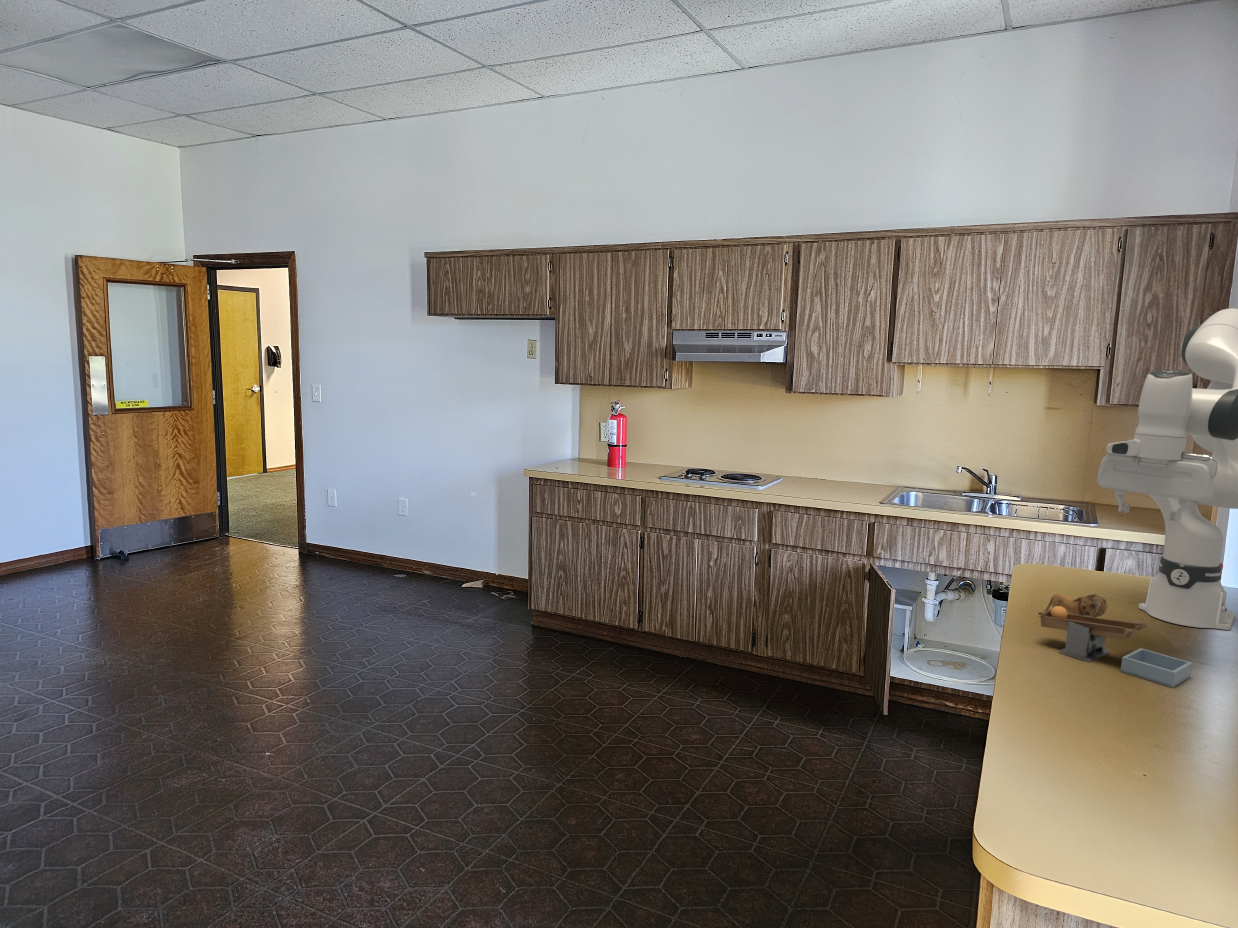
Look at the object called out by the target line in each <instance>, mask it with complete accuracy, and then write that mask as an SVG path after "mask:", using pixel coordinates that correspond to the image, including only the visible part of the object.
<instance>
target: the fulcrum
mask: <svg viewBox="0 0 1238 928" xmlns="http://www.w3.org/2000/svg"><path fill="white" fill-rule="evenodd" d="M1087 616H1088V615H1087ZM1090 617H1092V616H1090ZM1105 642H1106V637H1105V636H1099V635H1092V634H1091V627H1088V626H1084V625H1080V624H1077V623H1073V622H1069V623H1068V630H1067V633H1066V639H1065V647H1064V648H1061V649H1059V650H1058V654H1062V655H1065V656H1068V657H1071V658H1074V659H1077V658H1078V660H1081V661H1084V662H1088V663H1091V662H1093V661H1096V660H1097V659H1100V658H1102V657H1104V656H1106V655H1109V654H1110V650H1109V649H1106V648H1105V645H1106V643H1105Z"/></svg>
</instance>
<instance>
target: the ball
mask: <svg viewBox="0 0 1238 928" xmlns="http://www.w3.org/2000/svg"><path fill="white" fill-rule="evenodd" d="M1051 608H1052V607H1051ZM1051 608H1050V609H1051ZM1050 614H1051V617H1055V618H1062V619H1066V618H1067V615H1068V614H1067V611H1066V609H1065V608H1063V607H1061V606H1055V607H1053V608H1052V609H1051V612H1050Z"/></svg>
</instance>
